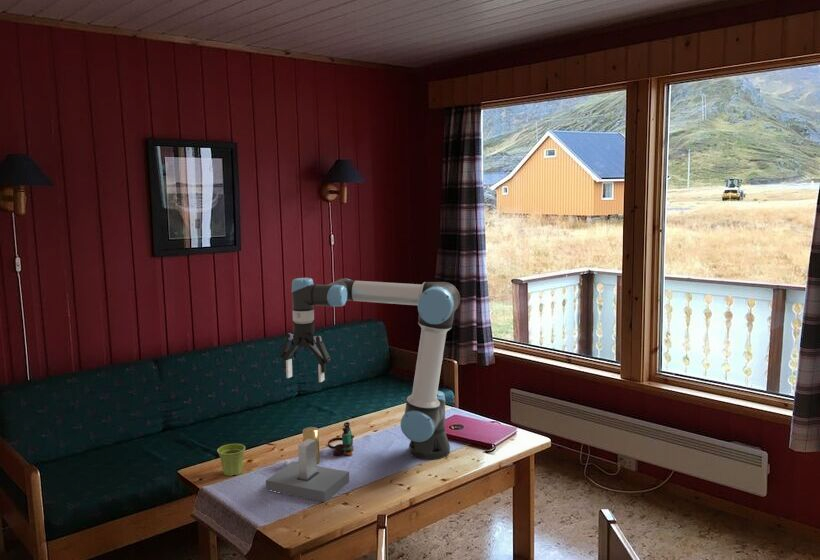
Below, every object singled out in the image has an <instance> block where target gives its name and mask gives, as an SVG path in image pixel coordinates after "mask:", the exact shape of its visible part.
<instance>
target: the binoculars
mask: <svg viewBox="0 0 820 560" xmlns="http://www.w3.org/2000/svg"><path fill="white" fill-rule="evenodd" d="M343 426H344V427H343V428H341V429H342V431H343V432H342V434H341V437H334V438H331V439H329V440H328V441H327V447H328V448H329V449H331V450H333V451H332V454H333V456H339V455H342V454H344V455H347V456H353V451H354V450H355V448H354V445H353V444H354V442H353V441H354V439H353V438H355V436H354V434H352V429H351V427H350V422H348V421H347V422H344V423H343ZM335 441H342V443H338V444H336V445H335V446H334V445H331V443H332V442H335Z"/></svg>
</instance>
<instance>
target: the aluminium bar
mask: <svg viewBox="0 0 820 560" xmlns="http://www.w3.org/2000/svg"><path fill="white" fill-rule="evenodd" d="M297 450H298V453H297V454H298V456H297V457H298V463H299V480H302V481H307V482H308V481H309V480H311V479H312V478H313V477H315V476H316V475H317V466H318V464H317V461H316V440H313V439H307V440H305V441H304V442H303V441H302V442H301V443H299V444H298V445H297Z"/></svg>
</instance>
